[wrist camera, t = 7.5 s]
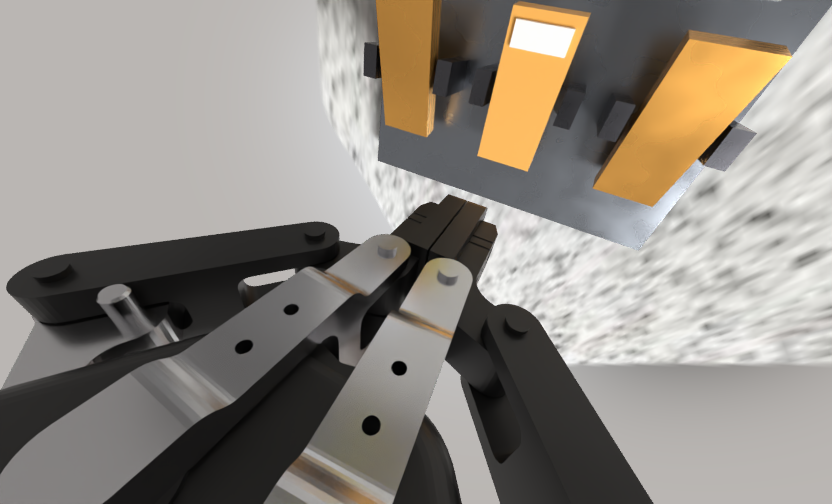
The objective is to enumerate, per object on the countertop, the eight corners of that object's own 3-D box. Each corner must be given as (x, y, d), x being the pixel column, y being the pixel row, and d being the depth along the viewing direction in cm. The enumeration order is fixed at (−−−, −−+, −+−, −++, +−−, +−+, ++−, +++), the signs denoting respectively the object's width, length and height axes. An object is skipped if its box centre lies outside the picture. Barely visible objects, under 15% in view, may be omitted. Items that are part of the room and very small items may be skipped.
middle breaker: (591, 12, 12) (587, 18, 12) (531, 162, 18) (526, 173, 17) (519, 1, 13) (512, 5, 12) (482, 148, 18) (476, 157, 18)
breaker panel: (845, -55, 12) (1019, -120, 7) (634, 231, 21) (647, 289, 16) (417, -94, 17) (347, -148, 12) (393, 151, 25) (347, 177, 21)
